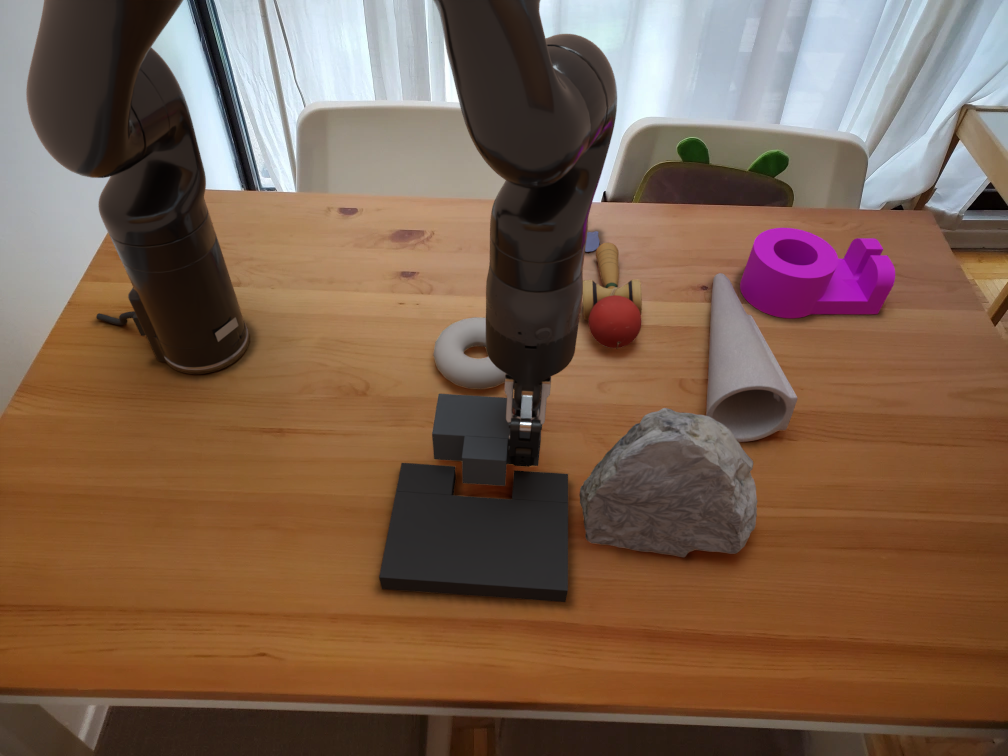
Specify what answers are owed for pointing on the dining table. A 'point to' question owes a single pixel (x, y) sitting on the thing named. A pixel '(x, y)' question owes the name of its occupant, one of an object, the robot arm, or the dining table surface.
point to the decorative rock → (672, 488)
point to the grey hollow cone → (743, 371)
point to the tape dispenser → (815, 275)
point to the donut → (459, 364)
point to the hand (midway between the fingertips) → (523, 439)
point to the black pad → (478, 537)
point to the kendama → (612, 302)
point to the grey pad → (474, 436)
